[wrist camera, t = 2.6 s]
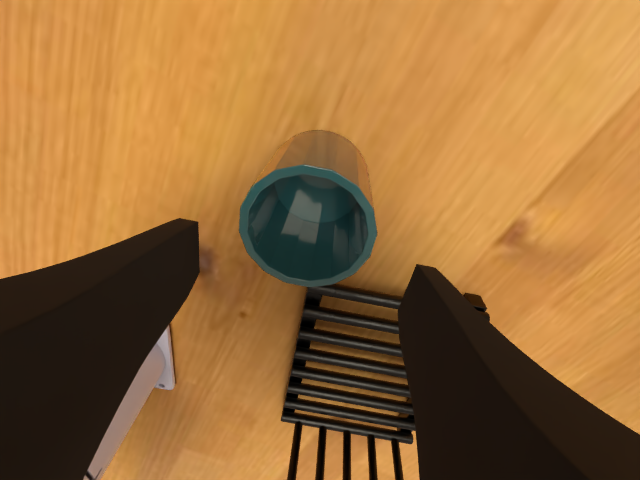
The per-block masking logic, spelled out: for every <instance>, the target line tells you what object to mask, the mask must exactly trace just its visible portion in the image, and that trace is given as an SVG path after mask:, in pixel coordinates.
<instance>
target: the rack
mask: <svg viewBox="0 0 640 480" xmlns="http://www.w3.org/2000/svg"><path fill="white" fill-rule="evenodd" d="M322 295H324V296H329V297H335V298H340V299H345V300H351V301H356V302H361V303H367V304H372V305H377V306H383V307H388V308H393V309H398V308H399V306H400V303H401V301H402V299H403V297H402V296H397V295H392V294H386V293H381V292H376V291H370V290H365V289H360V288H355V287H349V286H344V285H339V284H332V285H324V286H316V287H307V290H306V295H305V300H304V305H303V310H302V315H301V320H300V325H299V330H298V335H297V340H296V345H295V350H294V355H293V360H292V365H291V370H290V375H289V380H288V385H287V390H286V395H285V400H284V405H283V411H282V416H281V421H283V422H288V423H294V424H295V429H294V436H293V443H292V449H291V456H290V463H289V470H288V477H287V480H296V473H297V465H298V457H299V449H300V441H301V433H302V425H305V426H311V427H316V428H319V439H318V452H317V464H316V477H315V480H324V466H325V449H326V432H327V429H328V430H333V431H339V432H343V480H351V434H356V435H361V436H367V441H368V462H369V480H378V478H377V463H376V449H375V438H378V439H384V440H390V441H391V444H392V453H393V463H394V472H395V480H404V479H403V471H402V464H401V456H400V448H399V442H401V443H406V444H412V443H413V435H412V433H411V432H412V431H413V430H414V431H416V429H415V419H414V412H413V406H412V400H411V395H410V390H409V385H405V384H399V383H394V382H388V381H383V380H377V379H372V378H366V377H361V376H355V375H350V374H344V373H339V372H333V371H328V370H322V369H317V368H311V367H306V366H305V365H306V361H307V360H308V361H314V362H319V363H325V364H330V365H336V366H341V367H347V368H352V369H358V370H363V371H369V372H374V373H380V374H385V375H391V376H396V377H402V378H407V375H406V370H405V366H403V365H398V364H392V363H387V362H382V361H376V360H371V359H365V358H360V357H354V356H349V355H343V354H338V353H333V352H327V351H322V350H316V349H311V348H310V344H311V341H316V342H322V343H327V344H332V345H338V346H343V347H349V348H354V349H360V350H365V351H371V352H376V353H381V354H387V355H392V356H398V357H403V355H402V349H401V344H396V343H391V342H385V341H380V340H374V339H369V338H364V337H358V336H353V335H347V334H342V333H337V332H331V331H326V330H320V329H315V328H314V327H315V323H316V319H319V320H324V321H330V322H335V323H340V324H346V325H351V326H357V327H362V328H367V329H373V330H378V331H384V332H389V333H394V334H399V326H398V321H395V320H390V319H384V318H379V317H374V316H368V315H363V314H358V313H352V312H347V311H342V310H336V309H331V308H326V307H320V301H321V297H322ZM464 297H465V298H466V299H467V300H468V301H469V302H470V303H471V304H472V306H473V307H474V308H475V309H476V310H477V311H478V312H479V313H480V314H481V315H482V316H483V317H485V318H486V319H487V320H488V321H490V316H489V314H488V313H487V312H485V311H486V309H487V308H486V306H485V304H484V302H483V300H482V298H481V296H478V295H473V294H468V293H465V295H464ZM302 378H305V379H311V380H316V381H322V382H327V383H333V384H338V385H344V386H349V387H355V388H360V389H366V390H371V391H377V392H382V393H388V394H393V395H399V396H404V397H409V398H408V400H407V402H404V401H398V400H393V399H387V398H381V397H376V396H370V395H365V394H359V393H354V392H348V391H343V390H337V389H332V388H326V387H321V386H315V385H310V384H304V383H301V382H302ZM298 395H305V396H311V397H316V398H322V399H327V400H333V401H338V402H344V403H350V404H355V405H361V406H366V407H372V408H377V409H383V410H388V411H394V412H400V415H399V416H394V415H388V414H383V413H377V412H372V411H366V410H360V409H355V408H349V407H344V406H338V405H333V404H327V403H321V402H316V401H310V400H305V399H299V398H298ZM295 409H296V410H302V411H307V412H313V413H318V414H324V415H330V416H335V417H341V418H346V419H352V420H358V421H363V422H369V423H374V424H380V425H386V426H391V427H397V431H396V430H391V429H385V428H380V427H374V426H368V425H363V424H357V423H352V422H346V421H340V420H335V419H329V418H324V417H318V416H312V415H307V414H301V413H296V412H295Z"/></svg>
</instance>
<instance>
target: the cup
mask: <svg viewBox="0 0 640 480" xmlns="http://www.w3.org/2000/svg"><path fill="white" fill-rule="evenodd" d="M239 233H240V235H241V238H242V240H243V243H244V245H245V248H246V251H247V253H248V254H249V256H250V257H251V258H252V259H253V260H254V261H255V262H256V263H257V264H258V265H259V266H260V267H261V268H262V270H263V271H265V272H266V273H268V274H270V275H272V276H274V277H276V278H278V279H279V280H281V281H283V282H286V283H289V284H295V285H300V286H305V287H316V286H324V285H332V284H335V283H337V282H339V281H341V280H343V279H345V278H347V277H349V276H351V275H353V274H354V273H356V272H357V271H358V270H359V268H360V267H361V266H362V265H363V264H364V263H365V262H366V261H367V260H368V258H369V257H370V256H371V253H372V250H373V246H374V243H375V240H376V237H377V227H376V221H375V214H374V207H373V201H372V195H371V189H370V182H369V176H368V170H367V165H366V163H365V161H364V158H363V156H362V155H361V153H360V152H359V150H358V149H357V148H356V147H355V146H354V145H353V144H352V143H351V142H350V141H349V140H347V139H346V138H344V137H342V136H341V135H338V134H336V133H333V132H329V131H323V130H313V131H307V132H303V133H300V134H298V135H296V136H294V137H292V138H290V139H289V140H288V141H287V142H285V143H284V144H283V145H282V146H281V147H280V148H279V149H278V150H277V152H276V153H275V154H274V156H273V157H272V159H271V160H270V161H269V163H268V164H267V166H266V167H265V168H264V170H263V171H262V173H261V174H260V175H259V177H258V178H257V180H256V181H255V182H254V184H253V185H252V187H251V189H250V190H249V192H248V194H247V196H246V198H245V199H244V201H243V203H242V205H241V207H240V219H239Z"/></svg>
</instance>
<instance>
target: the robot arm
mask: <svg viewBox="0 0 640 480" xmlns="http://www.w3.org/2000/svg"><path fill="white" fill-rule="evenodd" d="M199 272H200V269H199V232H198V222H196V221H191V220H186V219H181V218H179V219H176V220H173V221H170V222H167V223H165V224H162V225H160V226H157V227H155V228H153V229H150V230H148V231H146V232H143V233H141V234H138V235H136V236H133V237H131V238H129V239H126V240H124V241H121V242H119V243H116V244H114V245H111V246H108V247H106V248H103V249H100V250H97V251H95V252H92V253H89V254H87V255H84V256H81V257H78V258H75V259H72V260H69V261H66V262H63V263H60V264H56V265H53V266H49V267H46V268H42V269H39V270H35V271H32V272H28V273H24V274H20V275H16V276H11V277H7V278H3V279H0V480H101V478H102V476H103V474H104V473H105V471H106V469H107V467H108V466H109V464H110V462H111V461H112V459H113V457H114V455H115V454H116V452H117V450H118V448H119V447H120V445H121V443H122V442H123V440H124V438H125V436H126V435H127V433H128V431H129V429H130V428H131V426H132V424H133V423H134V421H135V419H136V417H137V416H138V414H139V412H140V410H141V409H142V407H143V405H144V404H145V402H146V400H147V398H148V397H149V395H150V393H151V391H152V390H153V388H160V389H166V390H172V389H173V388H174V386H175V377H174V367H173V357H172V347H171V337H170V327H169V324H170V322H171V321H172V319H173V318H174V316H175V315H176V314H177V312H178V311H179V309H180V308H181V306H182V305H183V303H184V302H185V300H186V299H187V297H188V295H189V293H190V291H191V289H192V287H193V285H194V283H195V281H196V279H197V277H198V274H199ZM398 326H399V339H400V344H401V349H402V355H403V360H404V365H405V370H406V375H407V380H408V385H409V390H410V395H411V400H412V406H413V412H414V419H415V429H416V440H417V450H418V463H419V477H420V480H640V435H639V434H638V433H636V432H634V431H633V430H631V429H630V428H628V427H626V426H625V425H623V424H622V423H620V422H619V421H617V420H615V419H614V418H612V417H611V416H609V415H608V414H606V413H605V412H603V411H602V410H600V409H599V408H597V407H596V406H594V405H593V404H591V403H590V402H588V401H587V400H585V399H584V398H583V397H581V396H580V395H578V394H577V393H576V392H574V391H573V390H571V389H570V388H569V387H567V386H566V385H564V384H563V383H562V382H560V381H559V380H557V379H556V378H555V377H553V376H552V375H551V374H550V373H548V372H547V371H546V370H544V369H543V368H542V367H540V366H539V365H538V364H537V363H536V362H534V361H533V360H532V359H531V358H529V357H528V356H527V355H526V354H524V353H523V352H522V351H521V350H520V349H518V348H517V347H516V346H515V345H514V344H513V343H511V342H510V341H509V340H508V339H507V338H506V337H505V336H504V335H503V334H502V333H500V332H499V331H498V330H497V329H496V328H495V327H494V326H493V325H492V324H491V323H490V322H489V321H488V320H487V319H486V318H485V317H483V316H482V315H481V314H480V313H479V312H478V311H477V310H476V309H475V308H474V307H473V306H472V304H471V303H470V302H469V301H468V300H467V299H466V298H465V297H464V296H463V295H462V294H461V293H460V292H459V291H458V290H457V289H456V288H455V287H454V286H453V285H452V284H451V283H450V282H449V281H448V280H447V279H446V278H445V277H444V276H443V275H442V274H441V273H440V272H439V271H438V270H437V269H436V268H434V267H429V266H424V265H418V264H417V265H416V267H415V270H414V272H413V275H412V277H411V279H410V282H409V284H408V287H407V289H406V291H405V294H404V296H403V299H402V301H401V303H400V306H399V308H398Z"/></svg>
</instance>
